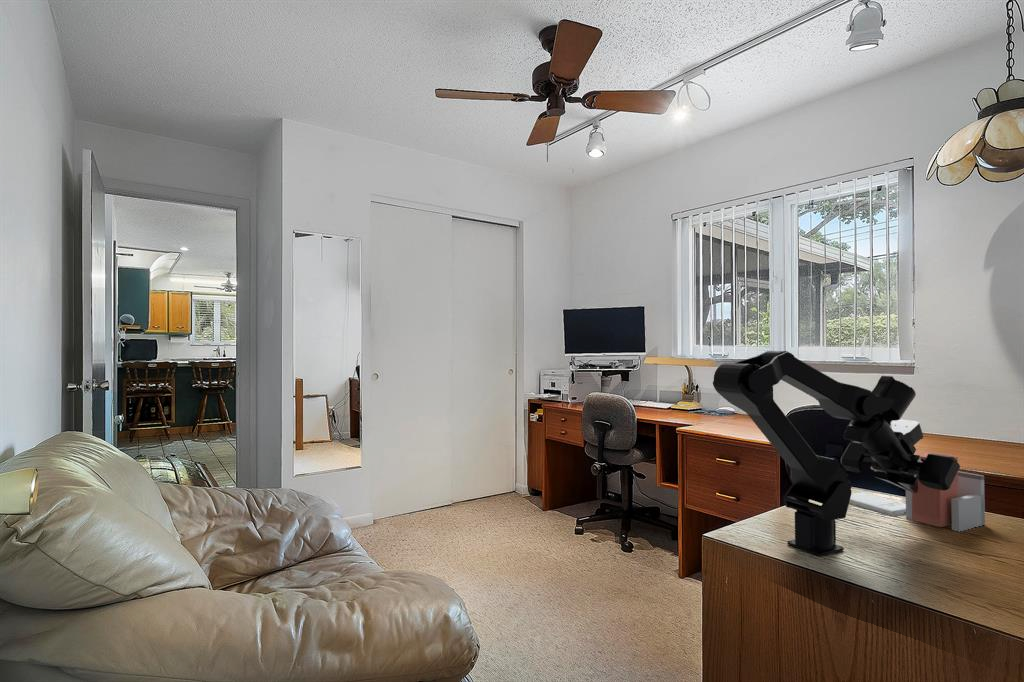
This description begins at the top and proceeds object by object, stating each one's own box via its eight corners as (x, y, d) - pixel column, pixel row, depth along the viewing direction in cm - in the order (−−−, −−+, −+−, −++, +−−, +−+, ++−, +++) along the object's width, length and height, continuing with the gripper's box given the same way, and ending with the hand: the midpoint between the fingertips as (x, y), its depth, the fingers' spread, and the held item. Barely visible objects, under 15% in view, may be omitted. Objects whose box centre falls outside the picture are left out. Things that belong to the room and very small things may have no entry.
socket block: (959, 532, 103) (958, 480, 103) (906, 518, 112) (905, 470, 112) (985, 525, 107) (984, 475, 107) (931, 512, 115) (931, 466, 115)
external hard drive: (863, 498, 128) (919, 513, 116) (838, 502, 125) (892, 518, 113) (863, 491, 128) (919, 506, 116) (838, 495, 125) (892, 510, 113)
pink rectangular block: (939, 527, 104) (938, 459, 104) (911, 520, 109) (909, 455, 109) (958, 522, 107) (957, 456, 107) (930, 515, 111) (929, 452, 112)
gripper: (952, 411, 95) (988, 468, 99) (848, 402, 112) (883, 450, 116) (927, 461, 91) (965, 517, 96) (823, 443, 108) (860, 492, 113)
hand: (915, 490), depth 105 cm, fingers closed
